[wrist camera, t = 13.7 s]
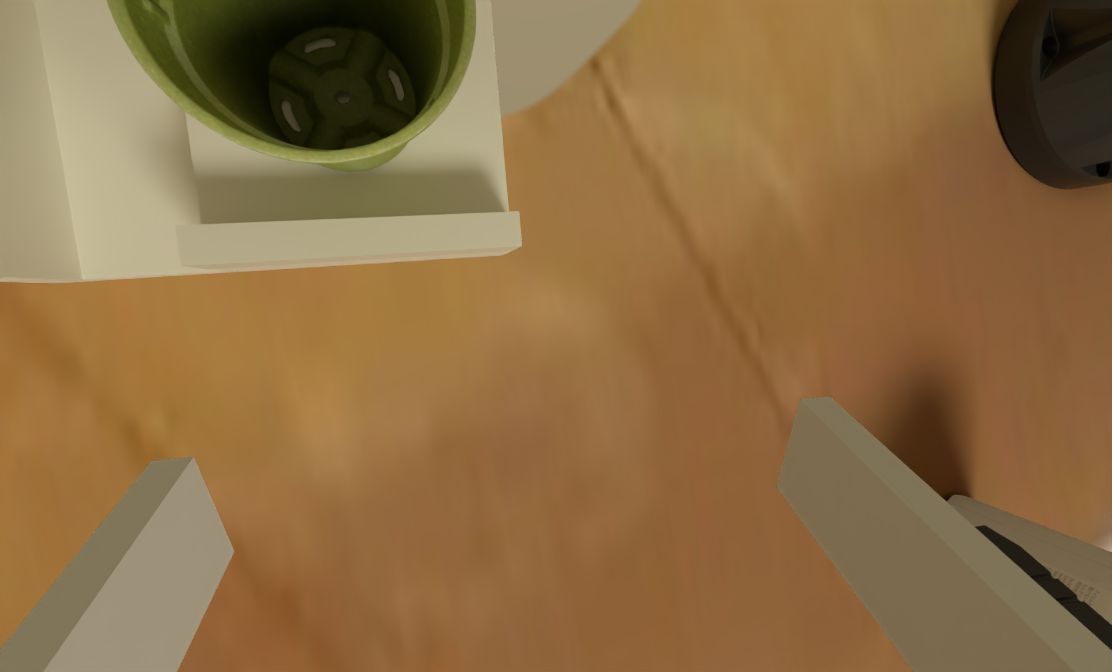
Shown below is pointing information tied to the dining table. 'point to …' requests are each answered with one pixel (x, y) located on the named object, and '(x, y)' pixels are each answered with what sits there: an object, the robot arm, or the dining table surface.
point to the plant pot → (305, 69)
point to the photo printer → (1050, 552)
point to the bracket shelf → (217, 170)
